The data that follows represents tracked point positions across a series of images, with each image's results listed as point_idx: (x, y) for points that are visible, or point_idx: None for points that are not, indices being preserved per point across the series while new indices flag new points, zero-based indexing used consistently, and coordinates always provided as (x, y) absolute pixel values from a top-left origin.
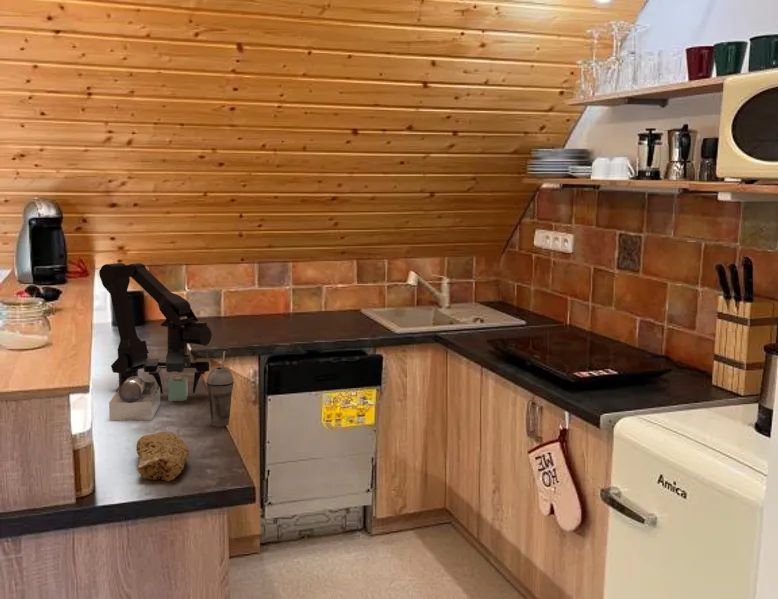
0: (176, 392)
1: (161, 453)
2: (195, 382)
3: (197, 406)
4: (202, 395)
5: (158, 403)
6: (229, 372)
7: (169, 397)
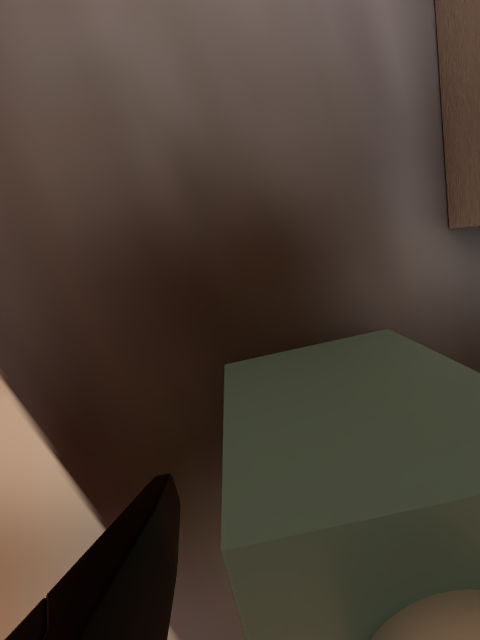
0: (342, 378)
1: None
2: (65, 606)
3: (18, 168)
4: None
5: (468, 68)
6: None
7: (396, 339)
